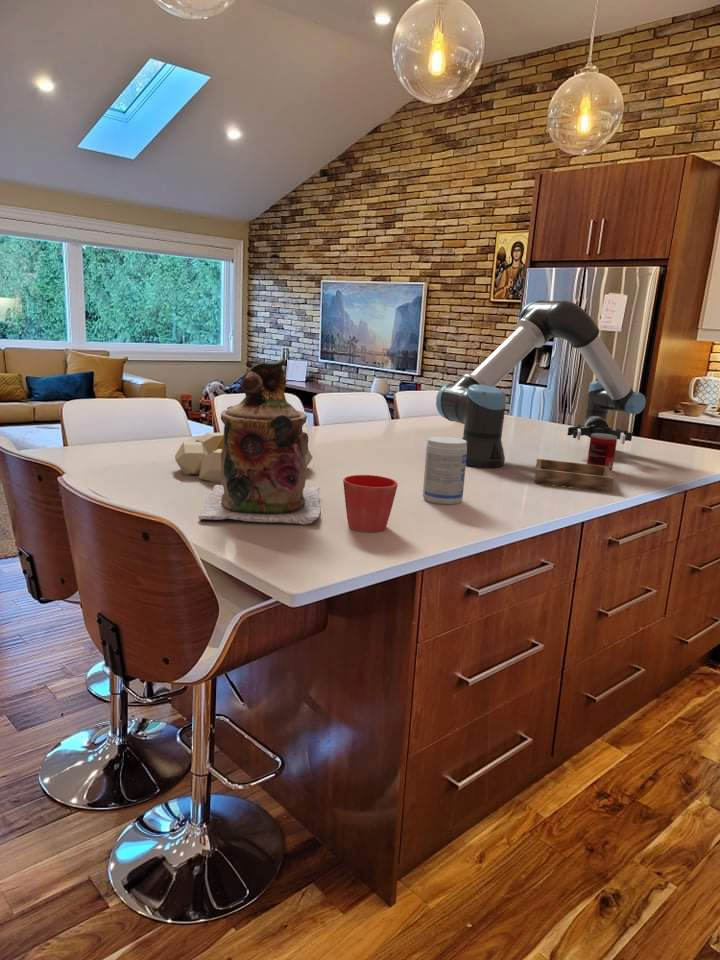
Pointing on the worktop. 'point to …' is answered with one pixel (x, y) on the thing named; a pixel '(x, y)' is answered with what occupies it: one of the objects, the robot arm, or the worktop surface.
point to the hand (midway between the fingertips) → (601, 437)
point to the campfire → (206, 456)
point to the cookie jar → (263, 456)
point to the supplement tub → (444, 470)
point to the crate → (574, 475)
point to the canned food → (602, 449)
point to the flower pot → (368, 501)
